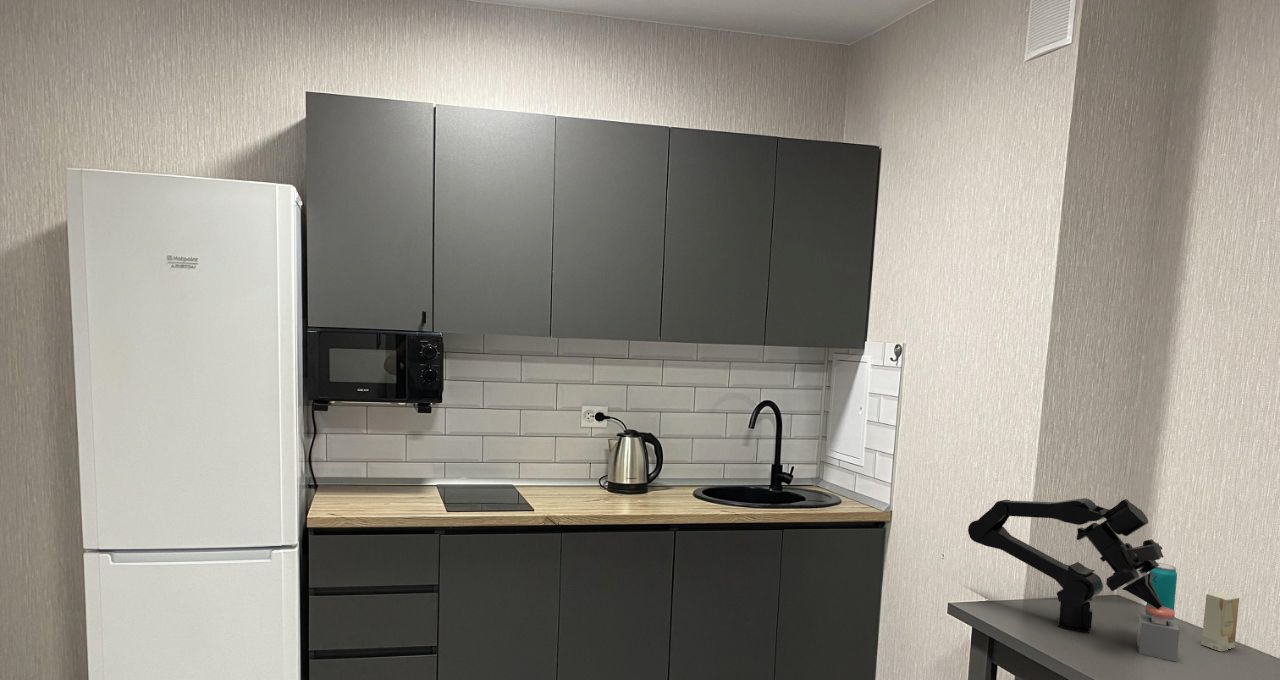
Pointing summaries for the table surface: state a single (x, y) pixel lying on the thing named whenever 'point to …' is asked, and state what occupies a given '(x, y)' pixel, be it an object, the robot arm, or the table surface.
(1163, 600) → the beverage can
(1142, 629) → the button housing
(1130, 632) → the table surface
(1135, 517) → the robot arm
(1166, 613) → the red plunger
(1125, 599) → the table surface
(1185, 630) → the table surface
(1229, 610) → the skincare box
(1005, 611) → the table surface
